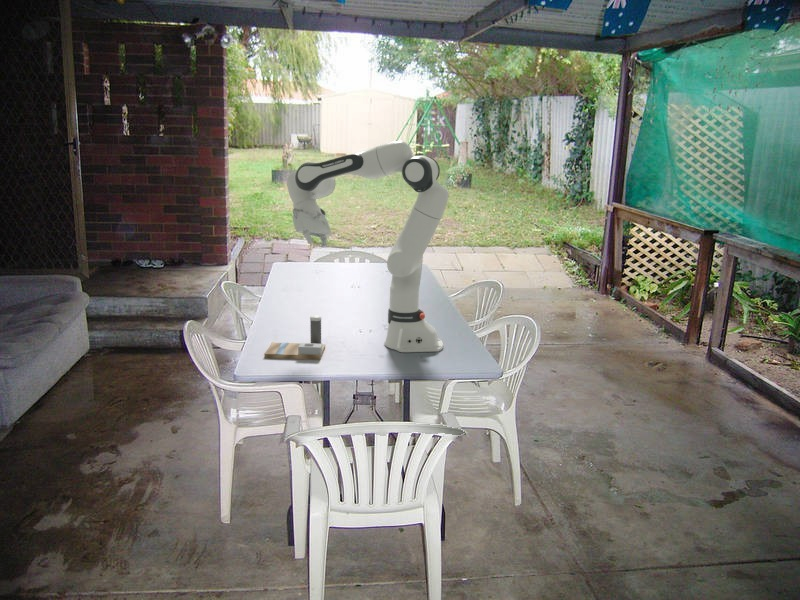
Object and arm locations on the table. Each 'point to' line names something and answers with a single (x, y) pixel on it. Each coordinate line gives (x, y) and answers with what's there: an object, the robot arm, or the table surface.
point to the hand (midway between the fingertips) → (318, 245)
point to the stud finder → (310, 349)
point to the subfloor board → (289, 351)
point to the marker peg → (315, 329)
